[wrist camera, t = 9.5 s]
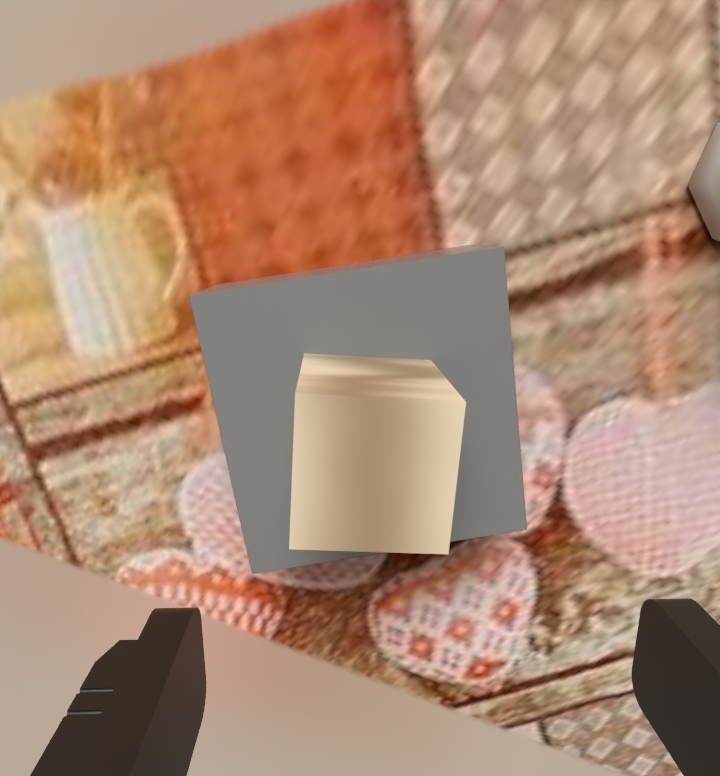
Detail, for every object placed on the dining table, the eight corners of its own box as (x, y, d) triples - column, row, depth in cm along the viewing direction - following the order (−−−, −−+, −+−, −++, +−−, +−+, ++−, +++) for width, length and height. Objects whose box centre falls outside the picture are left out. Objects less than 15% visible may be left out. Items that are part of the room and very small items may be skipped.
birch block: (431, 360, 23) (466, 402, 17) (419, 477, 24) (448, 554, 18) (304, 353, 22) (295, 393, 16) (299, 472, 23) (289, 549, 18)
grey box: (466, 245, 27) (503, 246, 22) (489, 474, 30) (526, 529, 25) (219, 283, 27) (189, 295, 21) (267, 510, 30) (252, 573, 24)
